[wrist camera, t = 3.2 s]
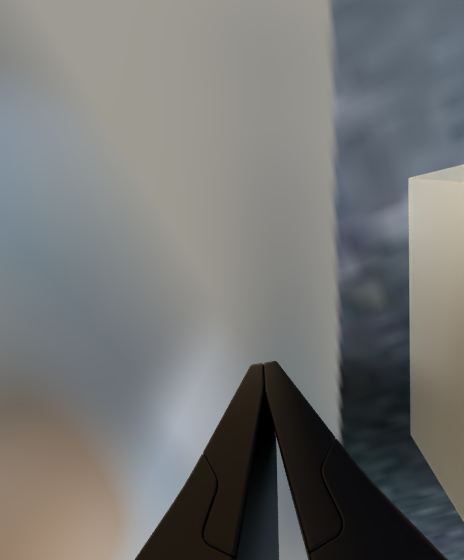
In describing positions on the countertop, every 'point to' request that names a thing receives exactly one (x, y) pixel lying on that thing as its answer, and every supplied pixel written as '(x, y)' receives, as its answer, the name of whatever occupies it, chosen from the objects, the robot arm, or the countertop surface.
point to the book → (438, 325)
